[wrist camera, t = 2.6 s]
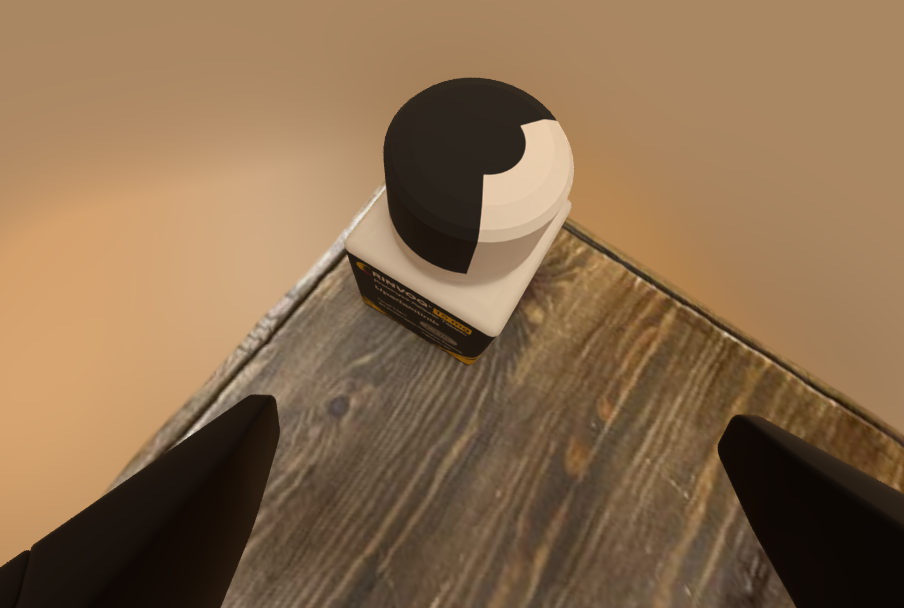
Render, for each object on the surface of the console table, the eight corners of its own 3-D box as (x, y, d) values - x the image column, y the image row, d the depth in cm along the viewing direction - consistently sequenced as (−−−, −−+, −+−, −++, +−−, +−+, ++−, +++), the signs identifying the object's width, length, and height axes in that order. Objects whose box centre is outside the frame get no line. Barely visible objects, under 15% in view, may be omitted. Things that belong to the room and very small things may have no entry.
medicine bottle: (360, 300, 23) (310, 163, 11) (428, 206, 25) (444, 13, 14) (471, 368, 22) (536, 296, 11) (530, 265, 24) (636, 116, 13)
